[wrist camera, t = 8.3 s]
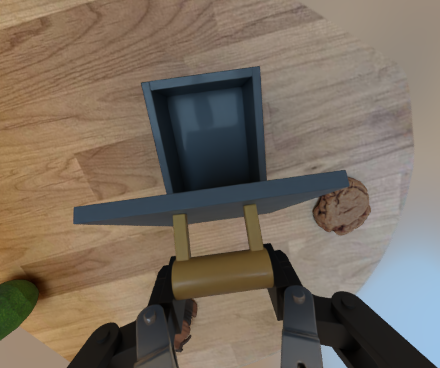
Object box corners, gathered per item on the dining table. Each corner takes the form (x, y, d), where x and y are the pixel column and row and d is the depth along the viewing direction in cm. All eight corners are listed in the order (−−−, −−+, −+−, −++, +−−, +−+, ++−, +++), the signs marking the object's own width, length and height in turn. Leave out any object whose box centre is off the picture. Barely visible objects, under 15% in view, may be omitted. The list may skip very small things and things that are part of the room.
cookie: (365, 170, 35) (378, 175, 33) (366, 223, 39) (378, 231, 36) (308, 184, 36) (317, 190, 33) (314, 235, 39) (322, 244, 36)
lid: (73, 206, 10) (70, 332, 8) (345, 169, 9) (379, 290, 8) (171, 220, 27) (175, 261, 26) (268, 206, 27) (276, 248, 26)
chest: (160, 91, 30) (140, 82, 22) (246, 79, 30) (260, 65, 22) (181, 196, 35) (172, 221, 27) (254, 186, 35) (268, 208, 27)
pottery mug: (207, 311, 45) (194, 358, 39) (175, 305, 49) (158, 346, 44) (179, 285, 38) (157, 337, 33) (144, 281, 43) (120, 326, 37)
